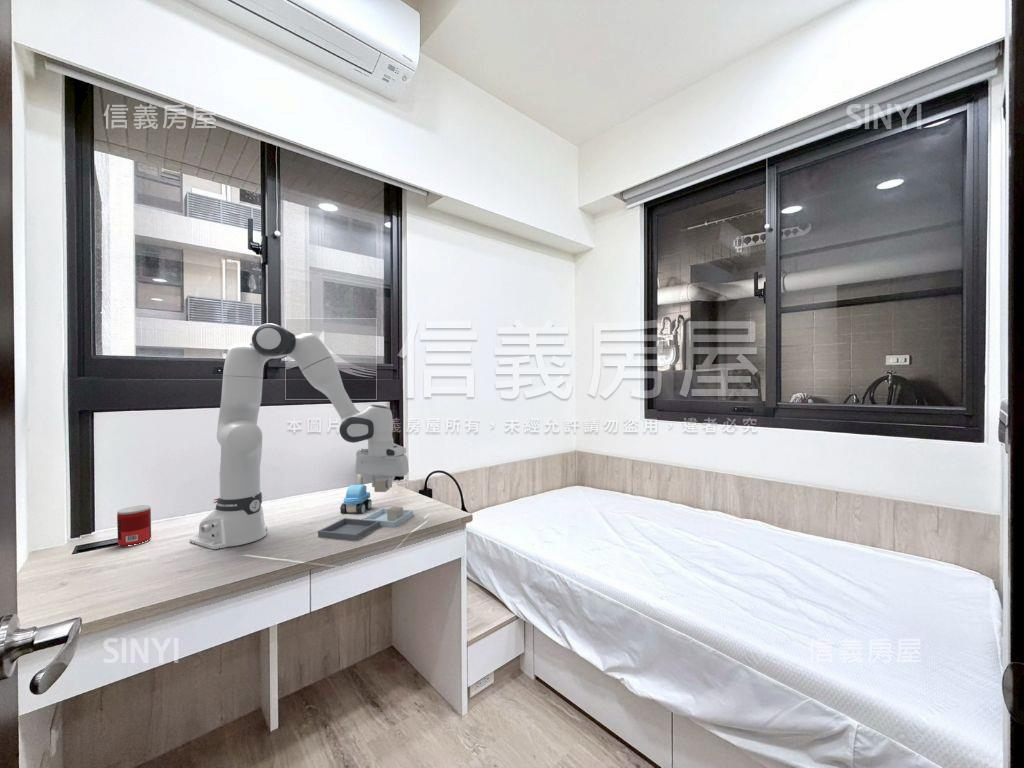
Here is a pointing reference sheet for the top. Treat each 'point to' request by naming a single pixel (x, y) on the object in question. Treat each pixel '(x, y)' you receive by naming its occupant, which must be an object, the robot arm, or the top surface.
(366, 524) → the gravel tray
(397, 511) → the grey cube
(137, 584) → the top surface
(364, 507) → the toy excavator
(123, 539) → the canned food
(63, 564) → the top surface
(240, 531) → the robot arm
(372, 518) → the blue tray
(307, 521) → the top surface
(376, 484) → the tan cube
